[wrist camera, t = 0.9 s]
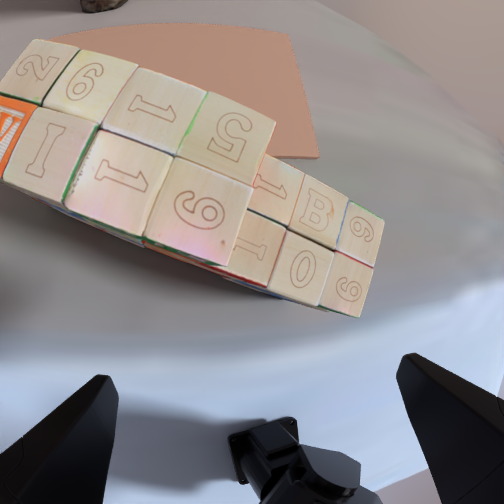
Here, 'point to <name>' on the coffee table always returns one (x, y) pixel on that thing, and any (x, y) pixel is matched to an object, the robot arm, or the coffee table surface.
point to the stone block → (100, 5)
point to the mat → (220, 70)
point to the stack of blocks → (180, 176)
